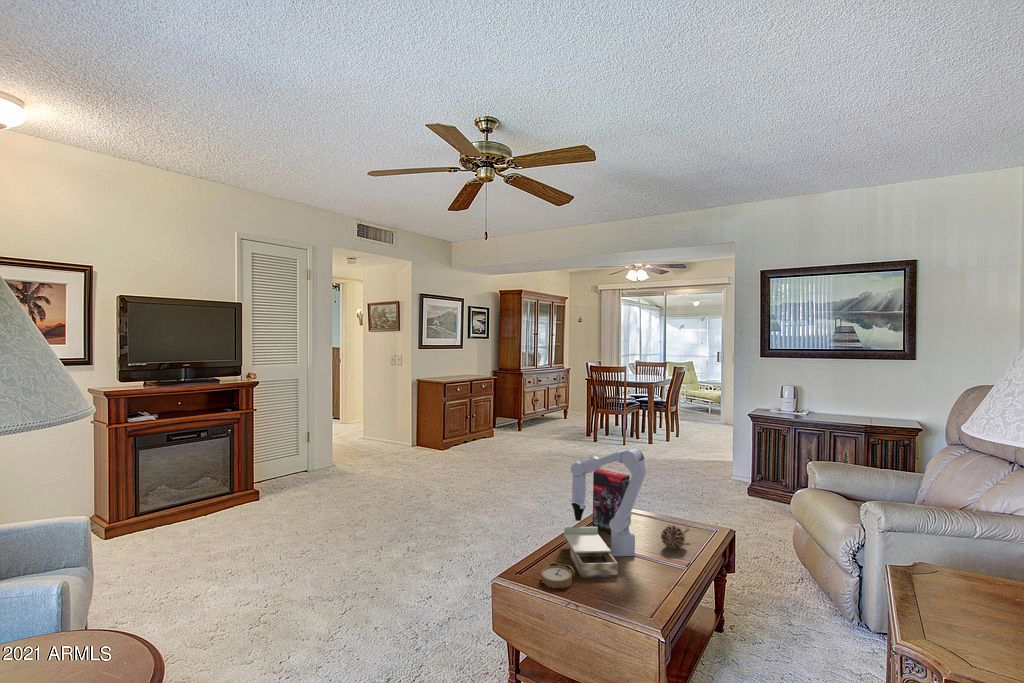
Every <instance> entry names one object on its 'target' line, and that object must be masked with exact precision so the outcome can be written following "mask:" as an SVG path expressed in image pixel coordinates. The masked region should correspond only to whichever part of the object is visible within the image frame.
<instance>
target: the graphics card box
mask: <svg viewBox="0 0 1024 683" xmlns="http://www.w3.org/2000/svg"><path fill="white" fill-rule="evenodd" d="M592 472H593V473H592V474H593V478H592V479H593V480H592V482H593V484H592V487H593V489H592V526H591V527H598V531H599V530H600V531H603V532H606V533H609V534H611V529H610V526H609V523H610V520H611V519H613V518H614V516H615V514H616V512H617V511H618V509H619V507H620V505H621V502H622V500H623V497H624V495H625V492H626V489H627V487H628V484H629V482H630V479H631V477H630V474H629V475H628V474H623V473H619V472H615V471H611V470H606V469H604V468H602V469H601V468H600V469H599V470H595V471H592ZM628 529H629V530H630V526H629V527H628Z"/></svg>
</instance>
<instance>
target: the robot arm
mask: <svg viewBox="0 0 1024 683" xmlns="http://www.w3.org/2000/svg"><path fill="white" fill-rule="evenodd" d="M645 459H646V457H645V455H644V454H643V451H642V450H641V449H639V448H638V447H632V448H630V449H629V448H626V449H622V450H618V451H615V452H612V453H610V454H607V455H605V456H602V457H598V456H596V455H590V456H589V458H585V459H583V458H582V459H580V460H579V461H577V462H574V463H572V464H571V466H570V472H571V474H572V481H571V482H572V486H571V487H572V488H571V489H572V491H571V492H572V495H571V498H569V501H570V502H571V503H570V504H571V507H572V510H573V513H574V519H575V521H576V522H579V521H582V518H583V514H584V511H585V509H586V507H587V506H586V502H587V501H586V480H587V479H586V477H587V476H586V474H589V473H592V472H594V471H596V470H599V469H601V468H602V466H603V465H606V464H611V463H614V462H618V463H619V464H623V465H624V466H625V467H626V468H627V469H628V471H629V472H630V474H631V477H630V481H629V484H628V487H627V489H626V492H625V495H624V497H623V500H622V502H621V505H620V507H619V509H618V511H617V512H616V514H615V516H614V518H613V519H611V520H610V523H609V526H610V529H611V533H610V534H611V537H610V547H608V548H609V549H610V550H611V552H610V553H611V555H612V556H613V557H635V556H636V537H635V533H634V531H633V530H630V526H631V523H632V519H631V518H632V515H633V514H632V513H633V512H632V510H633V508H634V505H635V503H636V500H637V498H638V496H639V492H640V490H641V488H642V486H643V483H644V480H645V479H646V476H647V472H646V463H645ZM628 527H629V529H628Z"/></svg>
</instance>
